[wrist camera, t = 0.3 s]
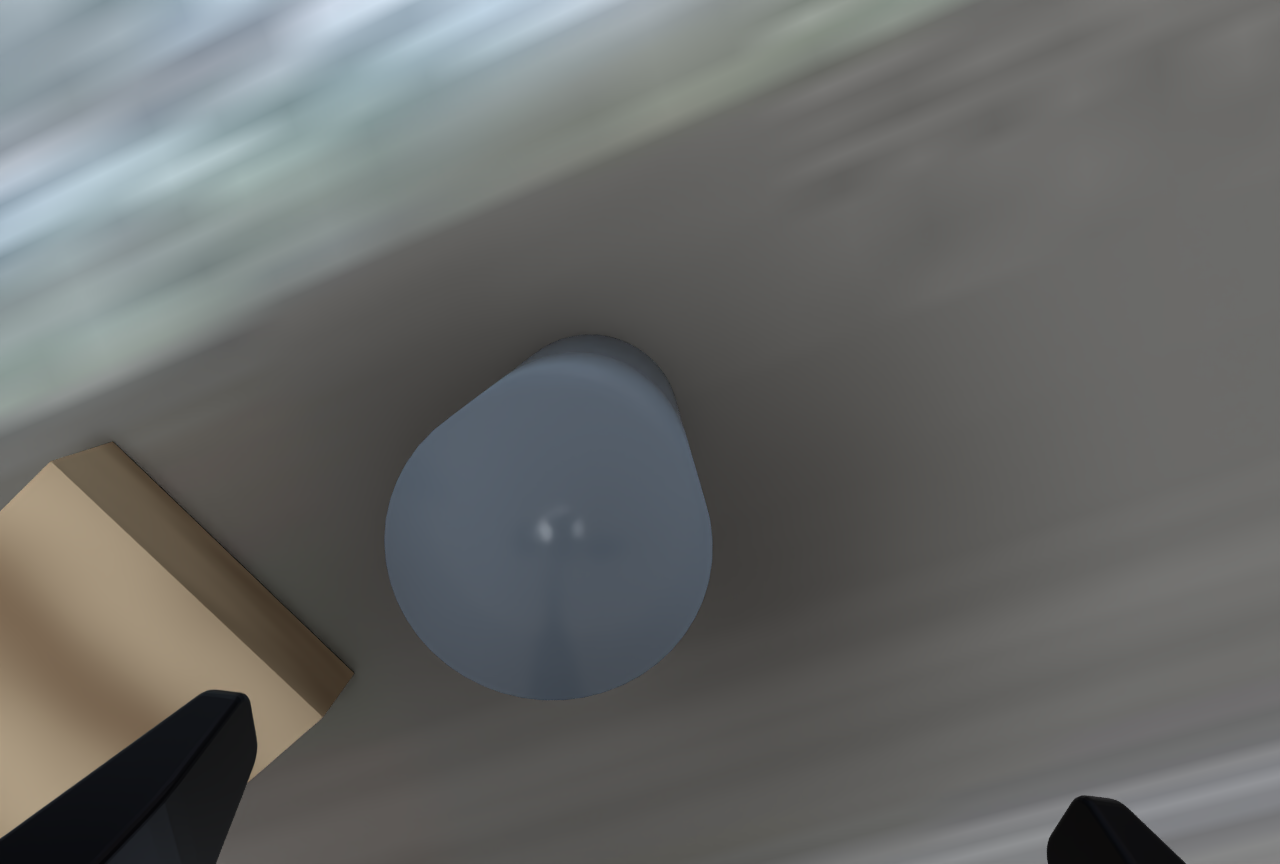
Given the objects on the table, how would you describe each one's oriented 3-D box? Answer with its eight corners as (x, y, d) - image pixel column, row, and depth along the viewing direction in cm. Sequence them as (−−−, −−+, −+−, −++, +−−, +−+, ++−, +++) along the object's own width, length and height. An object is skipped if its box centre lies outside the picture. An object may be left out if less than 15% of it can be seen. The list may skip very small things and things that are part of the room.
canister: (584, 541, 24) (540, 758, 13) (466, 415, 23) (315, 537, 12) (714, 429, 23) (779, 563, 12) (596, 297, 23) (557, 316, 12)
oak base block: (143, 857, 26) (91, 917, 24) (-99, 649, 25) (-180, 690, 22) (354, 673, 25) (322, 717, 22) (112, 441, 23) (50, 461, 21)
